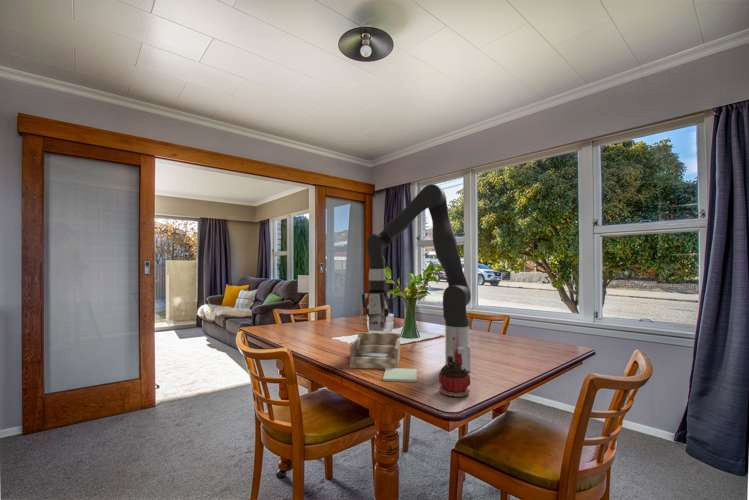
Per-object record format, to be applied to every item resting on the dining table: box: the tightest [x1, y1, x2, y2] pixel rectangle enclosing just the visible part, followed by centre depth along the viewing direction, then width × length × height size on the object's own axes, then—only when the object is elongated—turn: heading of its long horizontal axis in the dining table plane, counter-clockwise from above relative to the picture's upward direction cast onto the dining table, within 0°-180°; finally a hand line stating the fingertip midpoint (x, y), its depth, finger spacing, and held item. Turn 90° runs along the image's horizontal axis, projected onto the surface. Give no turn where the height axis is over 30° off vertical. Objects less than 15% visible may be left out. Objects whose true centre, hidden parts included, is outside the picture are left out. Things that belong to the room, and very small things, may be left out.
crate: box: [349, 331, 401, 370], centre depth 152 cm, size 19×21×10 cm
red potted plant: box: [438, 337, 471, 397], centre depth 115 cm, size 11×9×18 cm
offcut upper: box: [362, 352, 388, 358], centre depth 146 cm, size 10×4×2 cm, turn 68°
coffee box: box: [368, 292, 387, 332], centre depth 157 cm, size 9×6×16 cm
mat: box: [382, 367, 418, 383], centre depth 133 cm, size 12×13×1 cm
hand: (377, 317), depth 157 cm, fingers closed on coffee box, 6 cm apart
